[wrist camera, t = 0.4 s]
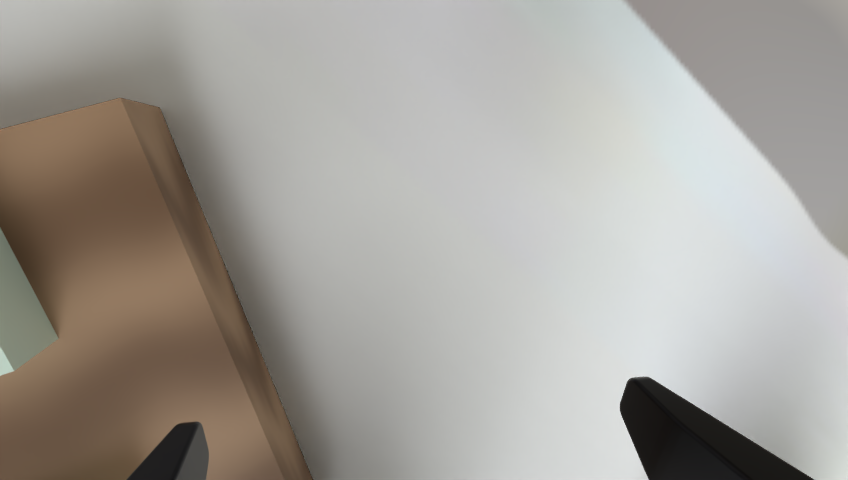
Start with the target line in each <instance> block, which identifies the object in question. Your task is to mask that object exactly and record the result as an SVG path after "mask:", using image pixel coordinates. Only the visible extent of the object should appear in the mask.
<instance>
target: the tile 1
mask: <svg viewBox="0 0 848 480" xmlns="http://www.w3.org/2000/svg"><path fill="white" fill-rule="evenodd" d="M57 339H59V338H58V336H57V334H56V332H55V331H54V329H53V327H52V325H51V323H50V321H49V319H48V317H47V315H46V313H45V312H44V310H43V308H42V306H41V304H40V302H39V300H38V298H37V296H36V294H35V293H34V291H33V289H32V287H31V285H30V283H29V281H28V279H27V277H26V275H25V274H24V272H23V270H22V268H21V266H20V264H19V262H18V260H17V258H16V256H15V255H14V253H13V251H12V249H11V247H10V245H9V243H8V241H7V239H6V237H5V236H4V234H3V232H2V230H1V228H0V376H1V375H4V374H7V373H10V372H13V371H15V370H16V369H18V368H19V367H20V366H22V365H23V364H25V363H26V362H27V361H29V360H30V359H31V358H33V357H34V356H35V355H37V354H38V353H40V352H41V351H42V350H44V349H45V348H46V347H48V346H49V345H50V344H52V343H53V342H55V341H56V340H57Z"/></svg>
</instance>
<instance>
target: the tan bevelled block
mask: <svg viewBox="0 0 848 480" xmlns="http://www.w3.org/2000/svg"><path fill="white" fill-rule="evenodd" d="M0 228H1V230H2V232H3V234H4V236H5V237H6V239H7V241H8V243H9V245H10V247H11V249H12V251H13V253H14V255H15V256H16V258H17V260H18V262H19V264H20V266H21V268H22V270H23V272H24V274H25V275H26V277H27V279H28V281H29V283H30V285H31V287H32V289H33V291H34V293H35V294H36V296H37V298H38V300H39V302H40V304H41V306H42V308H43V310H44V312H45V313H46V315H47V317H48V319H49V321H50V323H51V325H52V327H53V329H54V331H55V332H56V334H57V336H58V338H59V339H57V340H56V341H55V342H53V343H52V344H50V345H49V346H48V347H46V348H45V349H44V350H42V351H41V352H40V353H38V354H37V355H35V356H34V357H33V358H31V359H30V360H29V361H27V362H26V363H25V364H23V365H22V366H20V367H19V368H18V369H16V370H15V371H13V372H10V373H7V374H4V375H1V376H0V480H126V479H127V478H128V477H129V476H130V475H131V474H132V473H133V472H134V470H135V469H136V468H137V467H138V466H139V465H140V464H141V463H142V462H143V460H144V459H145V458H146V457H147V456H148V455H149V454H150V453H151V452H152V451H153V449H154V448H155V447H156V446H157V445H158V444H159V443H160V442H161V441H162V439H163V438H164V437H165V436H166V435H167V434H168V433H169V432H170V431H171V430H172V428H173V427H174V426H176V425H177V424H179V423H185V422H195V421H197V422H200V423H201V424H202V426H203V430H204V434H205V437H206V441H207V445H208V449H209V463H208V469H207V476H206V480H313V479H312V477H311V474H310V472H309V469H308V467H307V464H306V462H305V460H304V457H303V455H302V452H301V450H300V447H299V445H298V443H297V440H296V438H295V435H294V433H293V430H292V428H291V426H290V423H289V421H288V418H287V416H286V413H285V411H284V408H283V406H282V404H281V401H280V399H279V396H278V394H277V391H276V389H275V387H274V384H273V382H272V379H271V377H270V374H269V372H268V370H267V367H266V365H265V362H264V360H263V357H262V355H261V353H260V350H259V348H258V345H257V343H256V340H255V338H254V336H253V333H252V331H251V328H250V326H249V323H248V321H247V319H246V316H245V314H244V311H243V309H242V306H241V304H240V301H239V299H238V297H237V294H236V292H235V289H234V287H233V284H232V282H231V280H230V277H229V275H228V272H227V270H226V267H225V265H224V263H223V260H222V258H221V255H220V253H219V250H218V248H217V246H216V243H215V241H214V238H213V236H212V233H211V231H210V229H209V226H208V224H207V221H206V219H205V216H204V214H203V212H202V209H201V207H200V204H199V202H198V199H197V197H196V195H195V192H194V190H193V187H192V185H191V182H190V180H189V177H188V175H187V173H186V170H185V168H184V165H183V163H182V160H181V158H180V156H179V153H178V151H177V148H176V146H175V143H174V141H173V139H172V136H171V134H170V131H169V129H168V126H167V124H166V122H165V119H164V117H163V114H162V112H161V109H160V108H159V107H155V106H151V105H147V104H143V103H139V102H135V101H131V100H127V99H123V98H117V99H114V100H110V101H106V102H102V103H98V104H94V105H91V106H87V107H83V108H79V109H75V110H72V111H68V112H64V113H60V114H56V115H52V116H49V117H45V118H41V119H37V120H33V121H30V122H26V123H22V124H18V125H14V126H10V127H7V128H3V129H0Z"/></svg>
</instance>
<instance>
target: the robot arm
mask: <svg viewBox="0 0 848 480" xmlns="http://www.w3.org/2000/svg"><path fill="white" fill-rule="evenodd" d="M620 412H621V415H622V418H623V420H624V423H625V425H626V427H627V430H628V432H629V434H630V437H631V439H632V442H633V444H634V446H635V449H636V451H637V453H638V456H639V458H640V460H641V463H642V465H643V468H644V470H645V472H646V474H647V476H648V479H649V480H814V479H812V478H811V477H809V476H808V475H806V474H804V473H803V472H801V471H799V470H798V469H796V468H795V467H793V466H791V465H790V464H788V463H787V462H785V461H783V460H782V459H780V458H779V457H777V456H775V455H774V454H772V453H770V452H769V451H767V450H766V449H764V448H762V447H761V446H759V445H758V444H756V443H754V442H753V441H751V440H750V439H748V438H746V437H745V436H743V435H741V434H740V433H738V432H737V431H735V430H733V429H732V428H730V427H729V426H727V425H725V424H724V423H722V422H721V421H719V420H717V419H716V418H714V417H712V416H711V415H709V414H708V413H706V412H704V411H703V410H701V409H700V408H698V407H696V406H695V405H693V404H692V403H690V402H688V401H687V400H685V399H683V398H682V397H680V396H679V395H677V394H675V393H674V392H672V391H671V390H669V389H667V388H666V387H664V386H663V385H661V384H659V383H658V382H656V381H655V380H653V379H651V378H649V377H635V378H630V379H629V380H628V381H627V384H626V387H625V390H624V393H623V396H622V399H621V402H620ZM208 463H209V449H208V445H207V441H206V437H205V434H204V430H203V426H202V424H201V423H200V422H197V421H195V422H185V423H179V424H177V425H176V426H174V427H173V428H172V430H171V431H170V432H169V433H168V434H167V435H166V436H165V437H164V438H163V439H162V441H161V442H160V443H159V444H158V445H157V446H156V447H155V448H154V449H153V451H152V452H151V453H150V454H149V455H148V456H147V457H146V458H145V459H144V460H143V462H142V463H141V464H140V465H139V466H138V467H137V468H136V469H135V470H134V472H133V473H132V474H131V475H130V476H129V477H128V478H127V479H126V480H206V476H207V469H208Z"/></svg>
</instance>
